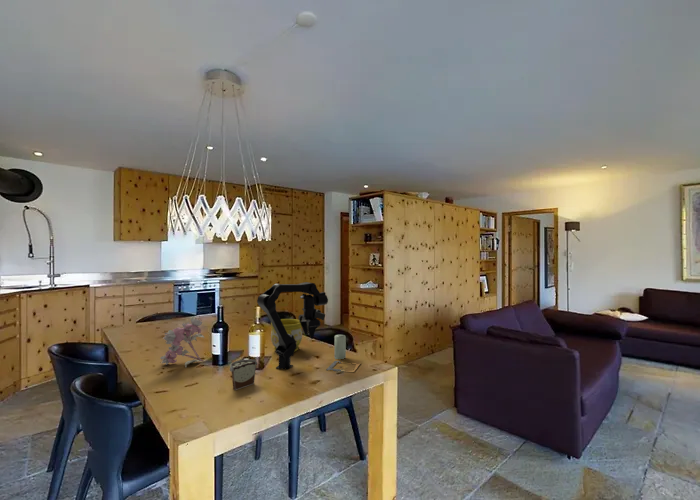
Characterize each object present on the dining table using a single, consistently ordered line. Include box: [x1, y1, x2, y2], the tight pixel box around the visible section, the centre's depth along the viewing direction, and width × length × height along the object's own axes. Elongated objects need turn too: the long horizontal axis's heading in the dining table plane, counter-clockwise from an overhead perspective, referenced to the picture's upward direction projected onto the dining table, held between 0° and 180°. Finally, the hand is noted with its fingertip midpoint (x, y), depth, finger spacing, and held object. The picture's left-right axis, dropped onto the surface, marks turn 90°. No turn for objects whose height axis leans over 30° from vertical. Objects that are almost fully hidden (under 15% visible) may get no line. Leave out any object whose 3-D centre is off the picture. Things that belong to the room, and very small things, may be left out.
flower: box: [159, 315, 205, 368], centre depth 180 cm, size 20×22×25 cm
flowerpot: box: [270, 318, 303, 353], centre depth 206 cm, size 18×18×16 cm
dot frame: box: [325, 360, 342, 372], centre depth 177 cm, size 14×14×1 cm
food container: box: [229, 358, 258, 391], centre depth 152 cm, size 12×6×10 cm, turn 141°
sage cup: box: [333, 334, 347, 360], centre depth 191 cm, size 6×6×12 cm
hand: (308, 336), depth 185 cm, fingers open, 9 cm apart
